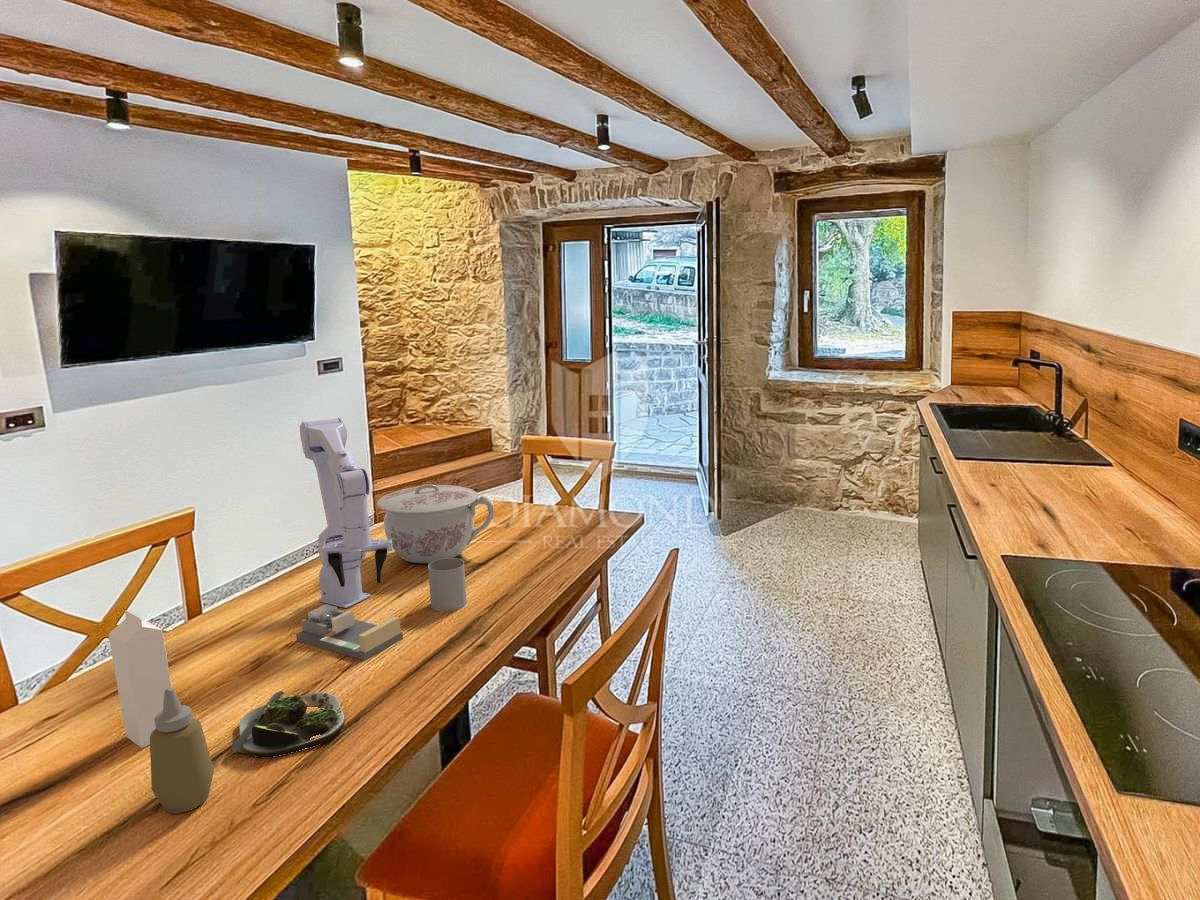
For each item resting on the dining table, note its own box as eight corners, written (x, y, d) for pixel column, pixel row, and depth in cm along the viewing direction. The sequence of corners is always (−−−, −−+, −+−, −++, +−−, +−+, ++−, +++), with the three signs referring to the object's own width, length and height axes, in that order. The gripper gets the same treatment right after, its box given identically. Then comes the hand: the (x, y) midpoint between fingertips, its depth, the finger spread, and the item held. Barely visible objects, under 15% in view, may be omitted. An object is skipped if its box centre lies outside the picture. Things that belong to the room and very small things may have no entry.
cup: (458, 612, 175) (455, 571, 173) (425, 610, 177) (421, 569, 175) (471, 598, 183) (469, 558, 181) (439, 596, 185) (436, 557, 183)
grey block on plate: (309, 627, 165) (307, 612, 164) (328, 618, 169) (326, 604, 169) (330, 633, 162) (329, 618, 161) (348, 624, 166) (347, 609, 165)
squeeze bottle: (199, 777, 118) (183, 670, 114) (228, 796, 113) (212, 685, 109) (144, 806, 111) (125, 695, 107) (173, 827, 107) (153, 711, 103)
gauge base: (296, 640, 163) (294, 618, 162) (336, 620, 173) (334, 599, 172) (364, 660, 154) (362, 637, 153) (402, 638, 163) (401, 616, 162)
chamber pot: (360, 561, 210) (353, 488, 206) (434, 534, 232) (429, 467, 228) (431, 581, 194) (425, 503, 190) (503, 550, 216) (499, 479, 212)
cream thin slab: (325, 636, 160) (323, 622, 159) (350, 623, 166) (349, 610, 165) (329, 637, 159) (327, 623, 159) (354, 624, 165) (353, 611, 165)
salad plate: (231, 711, 137) (227, 688, 136) (335, 687, 144) (332, 665, 143) (232, 771, 120) (228, 745, 119) (350, 740, 127) (347, 715, 126)
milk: (162, 721, 134) (144, 603, 129) (179, 732, 130) (161, 611, 126) (125, 737, 129) (104, 615, 124) (141, 749, 125) (120, 624, 121)
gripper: (317, 533, 160) (324, 593, 163) (388, 527, 163) (393, 586, 166) (322, 523, 167) (328, 581, 170) (390, 517, 170) (395, 575, 173)
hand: (361, 583), depth 169 cm, fingers open, 7 cm apart
